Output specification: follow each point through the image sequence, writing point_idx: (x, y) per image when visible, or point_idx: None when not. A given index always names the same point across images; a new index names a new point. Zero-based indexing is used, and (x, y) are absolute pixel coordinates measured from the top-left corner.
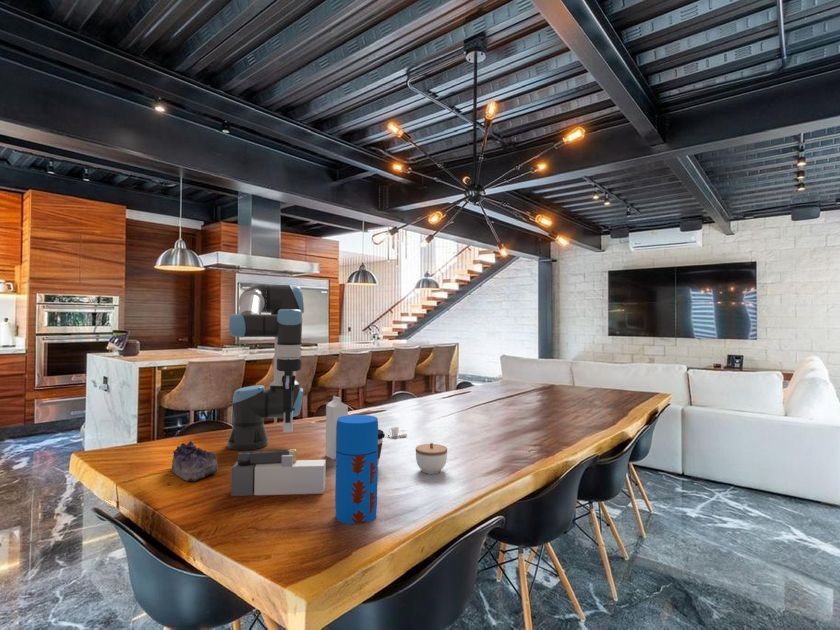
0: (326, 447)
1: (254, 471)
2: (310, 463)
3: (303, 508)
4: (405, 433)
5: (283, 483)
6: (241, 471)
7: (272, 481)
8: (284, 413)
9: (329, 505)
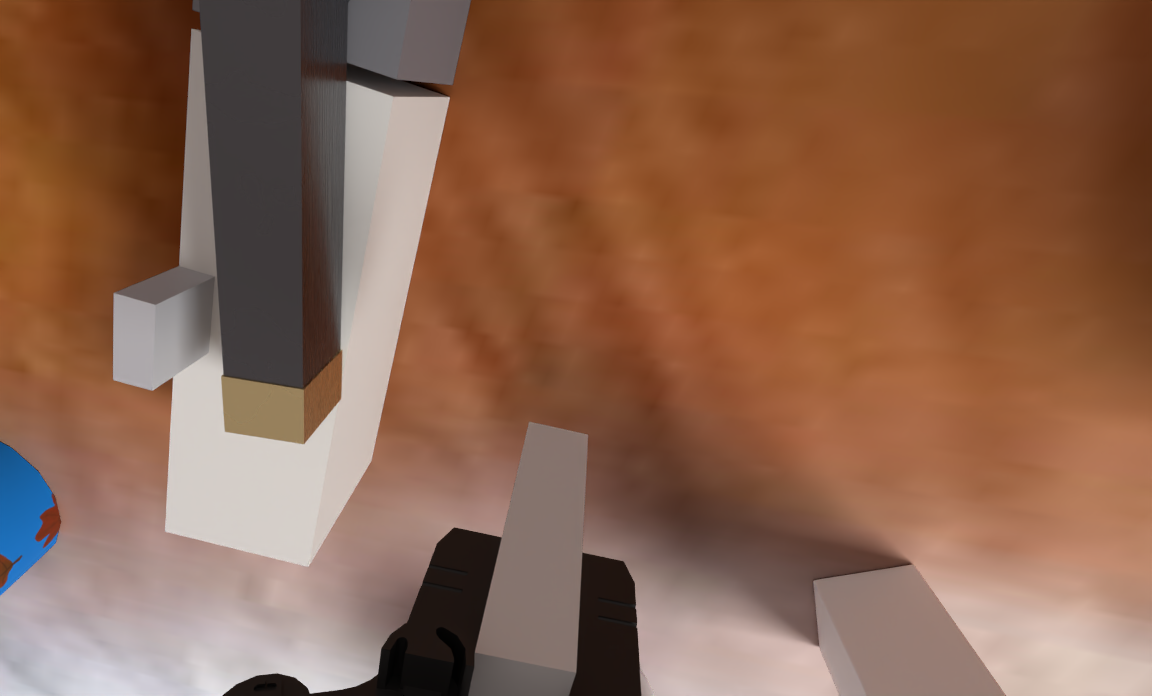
0: (929, 608)
1: None
2: (235, 469)
3: (62, 305)
4: None
5: None
6: None
7: None
8: (476, 641)
9: (94, 425)
